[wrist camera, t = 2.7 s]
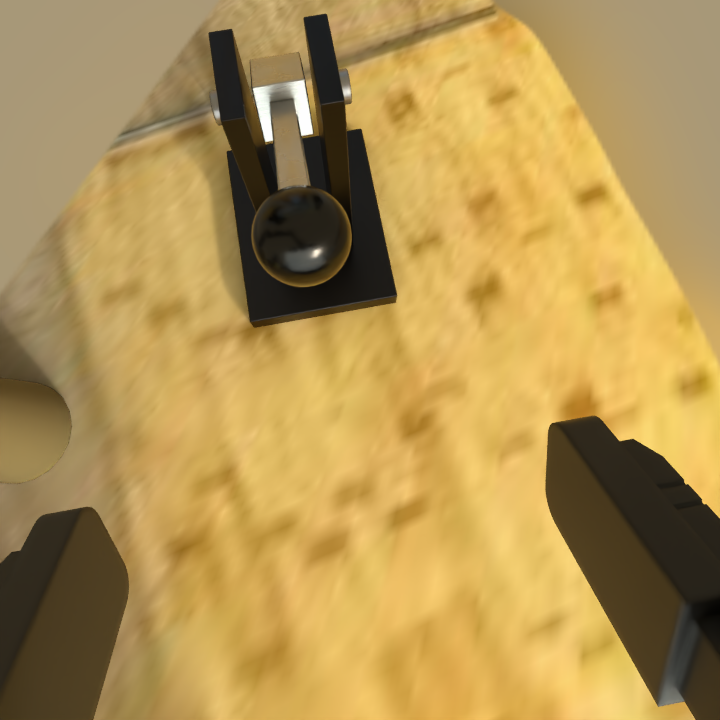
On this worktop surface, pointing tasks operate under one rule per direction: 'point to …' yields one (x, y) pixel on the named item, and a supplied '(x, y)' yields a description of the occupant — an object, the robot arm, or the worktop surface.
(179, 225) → the worktop surface
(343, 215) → the lever
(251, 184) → the bracket
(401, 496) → the worktop surface
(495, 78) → the worktop surface
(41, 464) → the cork
